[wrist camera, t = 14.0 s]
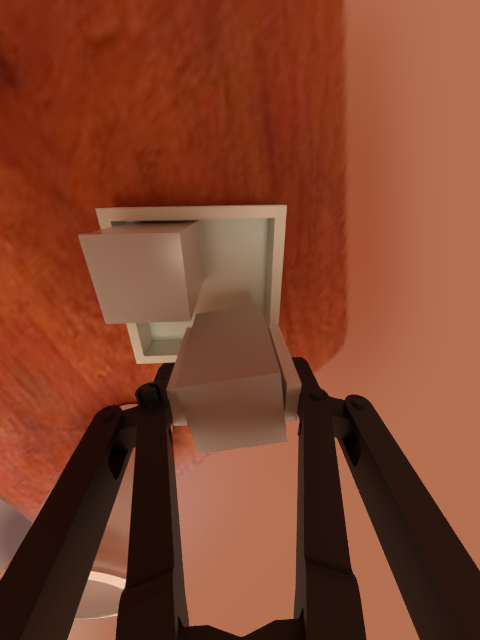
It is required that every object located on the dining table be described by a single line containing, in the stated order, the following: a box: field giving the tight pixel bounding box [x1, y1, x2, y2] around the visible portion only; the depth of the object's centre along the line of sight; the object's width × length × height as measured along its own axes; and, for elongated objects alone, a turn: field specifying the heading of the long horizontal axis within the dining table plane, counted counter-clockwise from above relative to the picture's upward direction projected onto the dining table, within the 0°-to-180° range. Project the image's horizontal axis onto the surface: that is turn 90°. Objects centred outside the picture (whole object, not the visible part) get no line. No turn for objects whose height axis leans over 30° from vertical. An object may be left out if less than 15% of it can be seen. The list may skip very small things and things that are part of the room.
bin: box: [95, 204, 287, 364], centre depth 20 cm, size 13×13×4 cm
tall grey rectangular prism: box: [78, 220, 204, 324], centre depth 16 cm, size 5×5×8 cm
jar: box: [0, 404, 173, 619], centre depth 24 cm, size 11×10×15 cm
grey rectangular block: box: [175, 304, 287, 454], centre depth 16 cm, size 5×5×8 cm
